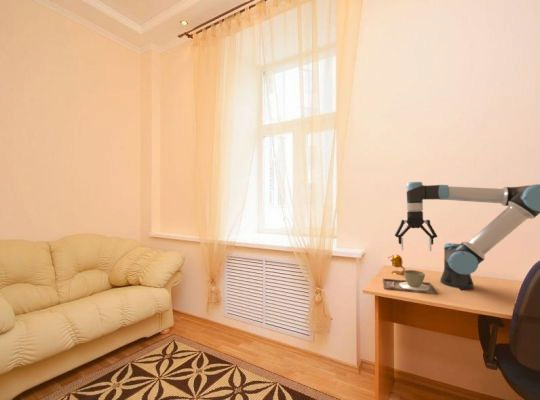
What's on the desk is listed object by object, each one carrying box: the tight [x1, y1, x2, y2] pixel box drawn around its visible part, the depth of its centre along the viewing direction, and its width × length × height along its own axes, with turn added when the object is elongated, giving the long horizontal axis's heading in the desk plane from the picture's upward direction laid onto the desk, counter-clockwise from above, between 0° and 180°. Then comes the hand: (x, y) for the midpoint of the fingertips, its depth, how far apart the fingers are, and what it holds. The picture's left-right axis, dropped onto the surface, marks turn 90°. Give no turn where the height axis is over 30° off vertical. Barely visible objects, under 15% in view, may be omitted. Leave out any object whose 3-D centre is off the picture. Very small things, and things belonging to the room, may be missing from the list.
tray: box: [382, 278, 438, 295], centre depth 148 cm, size 24×16×2 cm, turn 71°
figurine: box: [387, 254, 406, 276], centre depth 175 cm, size 8×11×12 cm
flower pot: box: [403, 269, 426, 287], centre depth 147 cm, size 10×10×7 cm
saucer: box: [399, 282, 429, 291], centre depth 147 cm, size 14×14×1 cm
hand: (415, 250), depth 149 cm, fingers open, 13 cm apart
